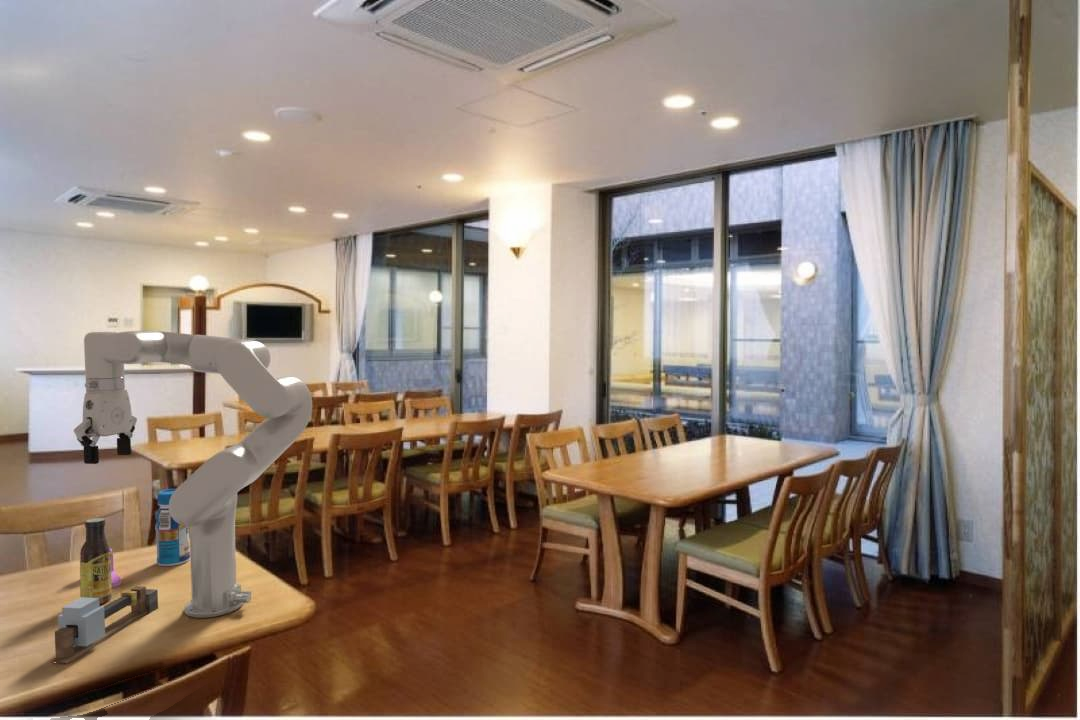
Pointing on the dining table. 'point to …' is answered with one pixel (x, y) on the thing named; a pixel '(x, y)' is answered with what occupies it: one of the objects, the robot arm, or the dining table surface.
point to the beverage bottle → (170, 534)
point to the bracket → (114, 574)
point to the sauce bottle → (95, 563)
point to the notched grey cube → (84, 620)
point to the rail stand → (140, 606)
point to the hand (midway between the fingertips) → (108, 459)
